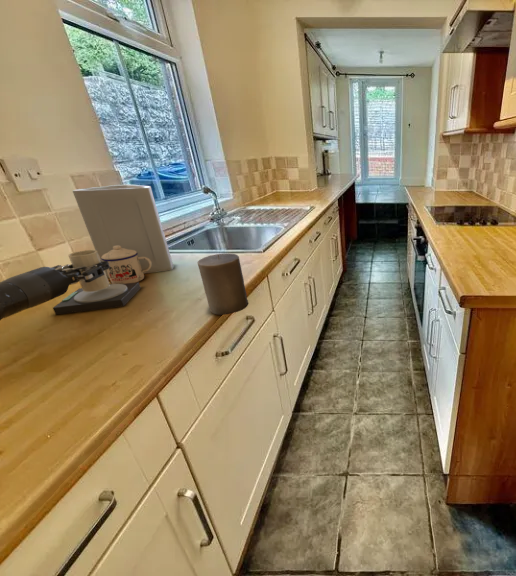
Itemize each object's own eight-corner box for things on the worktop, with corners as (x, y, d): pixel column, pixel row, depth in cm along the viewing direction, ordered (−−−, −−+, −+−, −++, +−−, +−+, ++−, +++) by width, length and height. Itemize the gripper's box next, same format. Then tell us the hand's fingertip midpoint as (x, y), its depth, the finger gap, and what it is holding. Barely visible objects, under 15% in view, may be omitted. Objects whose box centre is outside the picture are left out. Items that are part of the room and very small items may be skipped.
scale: (55, 314, 82) (51, 306, 81) (81, 294, 94) (78, 286, 93) (123, 306, 87) (120, 298, 86) (140, 288, 98) (138, 280, 97)
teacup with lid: (107, 288, 98) (93, 251, 93) (115, 278, 106) (102, 244, 101) (153, 281, 103) (142, 246, 98) (157, 272, 110) (147, 239, 105)
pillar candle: (256, 302, 89) (246, 250, 83) (229, 318, 80) (216, 262, 74) (229, 296, 92) (218, 246, 86) (200, 311, 84) (186, 257, 78)
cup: (78, 292, 85) (63, 257, 81) (89, 284, 90) (75, 250, 86) (104, 290, 87) (90, 255, 83) (113, 282, 92) (101, 249, 88)
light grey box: (177, 257, 125) (156, 183, 114) (172, 269, 113) (148, 187, 101) (117, 264, 118) (88, 186, 106) (105, 278, 105) (71, 191, 94)
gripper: (56, 273, 71) (117, 251, 87) (-5, 272, 72) (66, 251, 87) (70, 303, 74) (126, 276, 90) (11, 302, 75) (77, 276, 90)
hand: (96, 264), depth 88 cm, fingers closed on cup, 6 cm apart
